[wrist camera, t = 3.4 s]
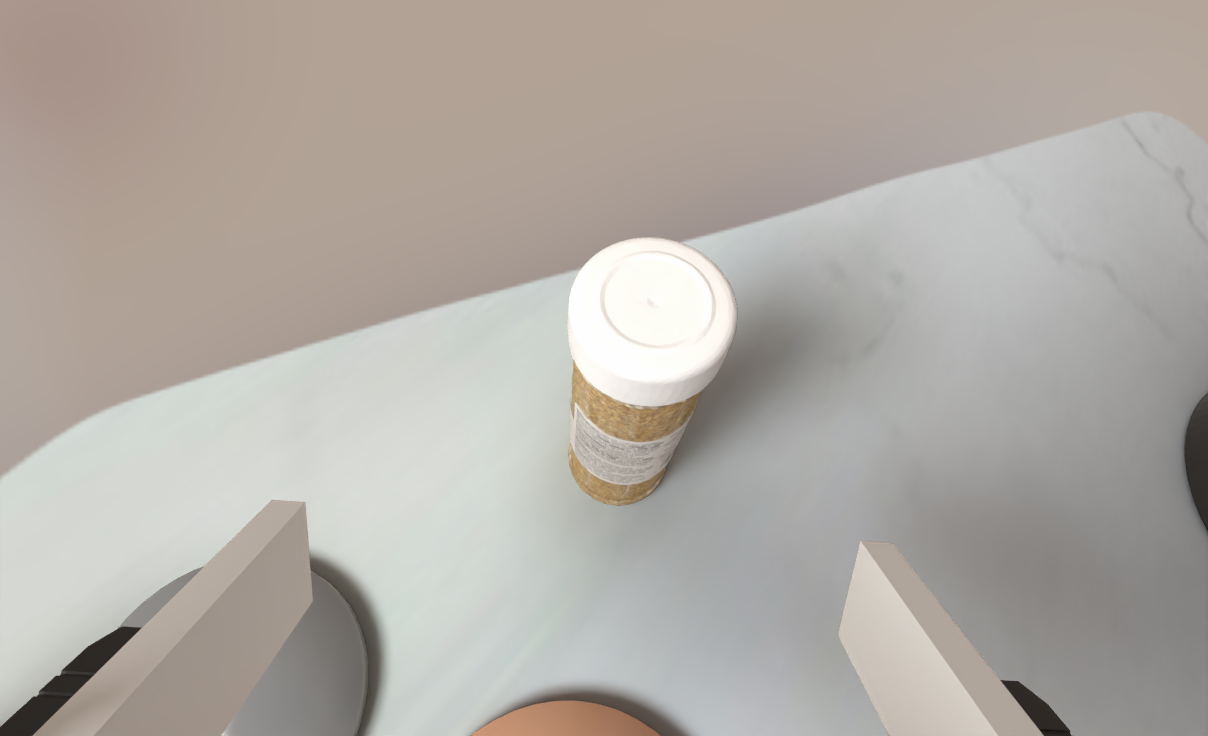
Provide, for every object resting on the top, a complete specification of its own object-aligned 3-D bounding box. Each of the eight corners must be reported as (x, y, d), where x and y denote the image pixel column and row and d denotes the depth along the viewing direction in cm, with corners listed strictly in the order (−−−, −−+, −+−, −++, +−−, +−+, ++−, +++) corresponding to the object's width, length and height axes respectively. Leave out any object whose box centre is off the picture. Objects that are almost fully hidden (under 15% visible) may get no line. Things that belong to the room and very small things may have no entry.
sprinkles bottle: (607, 395, 29) (636, 203, 17) (685, 452, 28) (774, 289, 16) (546, 467, 28) (531, 309, 15) (627, 530, 26) (678, 413, 14)
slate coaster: (419, 631, 24) (415, 629, 23) (248, 928, 20) (236, 938, 19) (218, 518, 26) (208, 514, 25) (18, 772, 21) (0, 776, 21)
